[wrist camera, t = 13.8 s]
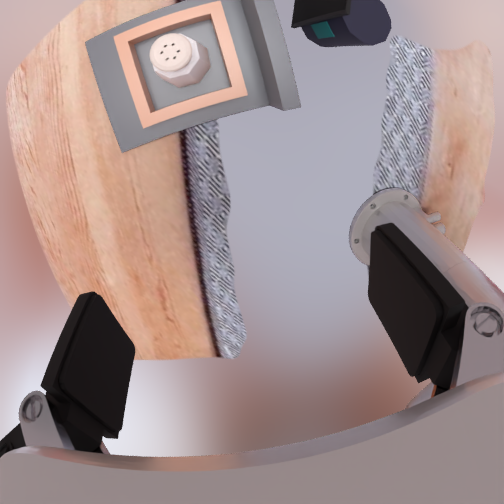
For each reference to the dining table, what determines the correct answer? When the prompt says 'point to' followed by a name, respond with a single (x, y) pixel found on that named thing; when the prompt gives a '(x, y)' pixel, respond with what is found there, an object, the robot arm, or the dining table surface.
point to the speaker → (342, 21)
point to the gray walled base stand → (214, 81)
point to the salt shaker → (179, 59)
